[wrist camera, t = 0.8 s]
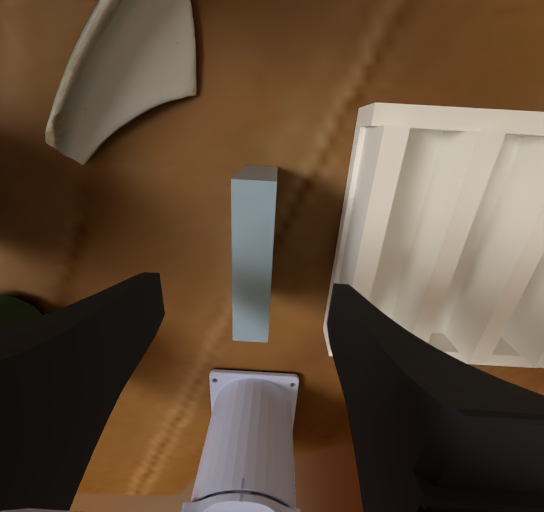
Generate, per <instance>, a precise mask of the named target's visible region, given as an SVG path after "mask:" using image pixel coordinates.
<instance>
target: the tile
mask: <svg viewBox="0 0 544 512" xmlns="http://www.w3.org/2000/svg"><path fill="white" fill-rule="evenodd" d="M277 171H278V167H273V166H256V165H246V166H245V167H244V168H242V169H241V170H240V171H239V172H238V173H237V174H236V175H235V176H234V177H233V178H232V179H231V212H232V307H233V341H250V342H268V329H269V312H270V295H271V277H272V260H273V243H274V226H275V208H276V191H277Z"/></svg>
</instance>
